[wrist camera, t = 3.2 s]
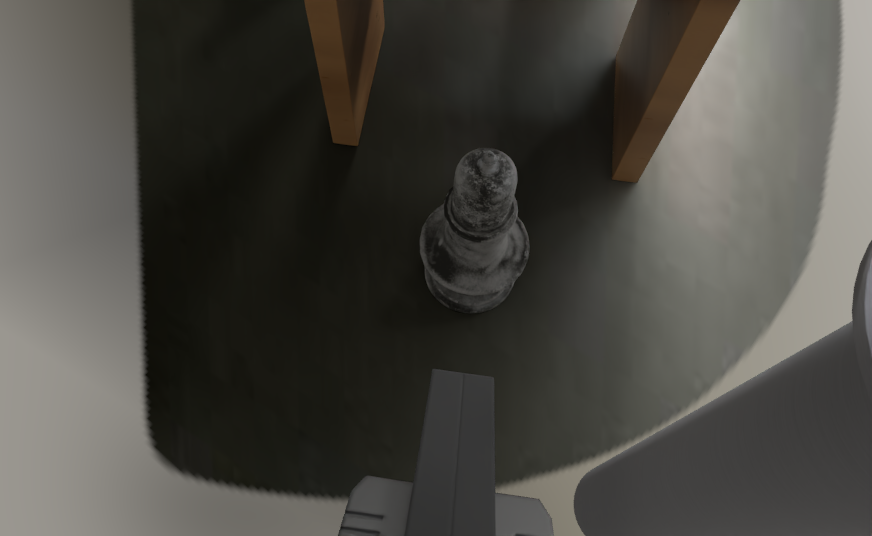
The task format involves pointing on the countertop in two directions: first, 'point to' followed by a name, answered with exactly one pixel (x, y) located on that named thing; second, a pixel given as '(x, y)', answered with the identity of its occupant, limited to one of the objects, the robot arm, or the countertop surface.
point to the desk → (634, 76)
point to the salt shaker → (476, 235)
